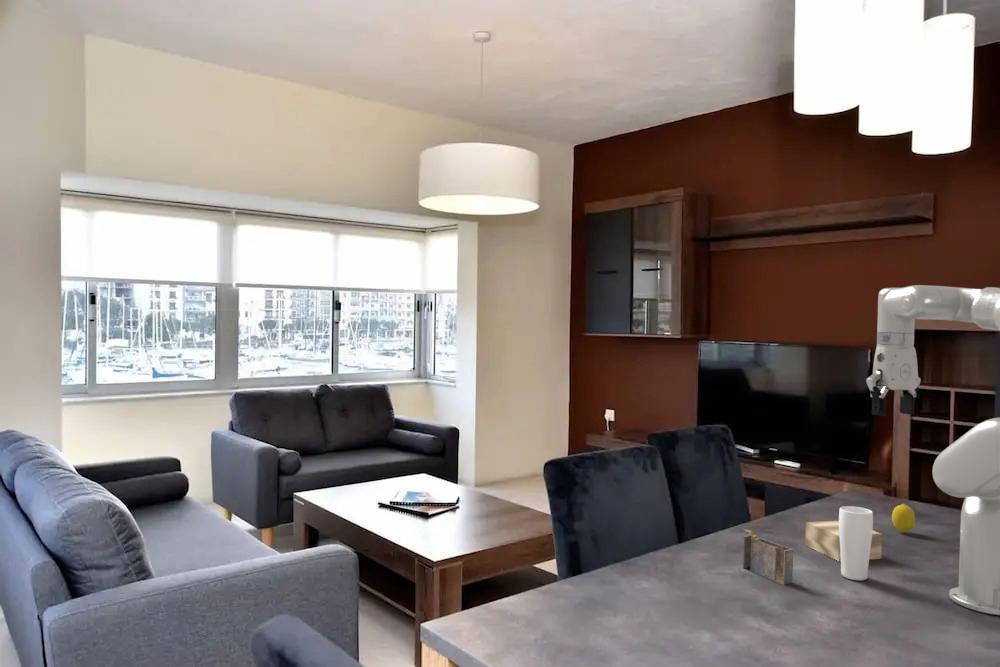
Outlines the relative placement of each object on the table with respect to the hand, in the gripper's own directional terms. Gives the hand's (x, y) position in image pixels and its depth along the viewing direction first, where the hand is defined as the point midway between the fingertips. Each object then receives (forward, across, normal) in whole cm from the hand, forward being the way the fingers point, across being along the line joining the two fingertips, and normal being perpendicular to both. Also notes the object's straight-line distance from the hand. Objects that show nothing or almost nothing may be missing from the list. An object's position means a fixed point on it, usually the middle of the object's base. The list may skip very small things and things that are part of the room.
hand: (892, 414), depth 163 cm
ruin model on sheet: (+36, -32, +6) cm, 49 cm away
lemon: (+36, +29, +17) cm, 49 cm away
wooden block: (+35, -1, +11) cm, 37 cm away
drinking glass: (+36, -14, -2) cm, 38 cm away
